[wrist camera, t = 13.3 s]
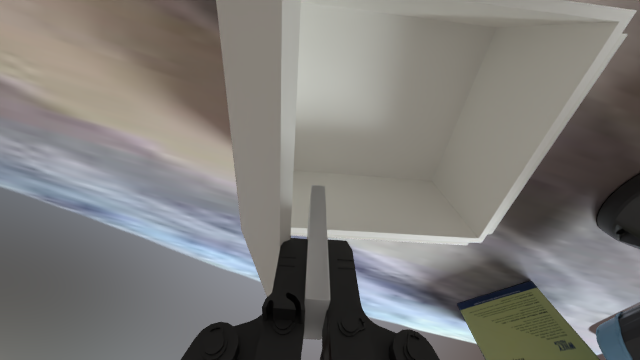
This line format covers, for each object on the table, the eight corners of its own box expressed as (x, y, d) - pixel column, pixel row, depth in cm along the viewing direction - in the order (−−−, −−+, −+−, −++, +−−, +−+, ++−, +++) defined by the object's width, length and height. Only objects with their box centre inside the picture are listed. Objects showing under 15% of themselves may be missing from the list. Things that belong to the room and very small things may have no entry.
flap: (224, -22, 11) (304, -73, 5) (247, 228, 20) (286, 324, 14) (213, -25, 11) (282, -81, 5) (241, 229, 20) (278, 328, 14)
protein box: (455, 303, 51) (503, 396, 38) (531, 279, 47) (616, 374, 34) (466, 323, 56) (513, 412, 43) (537, 303, 52) (613, 394, 39)
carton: (503, 22, 24) (647, 11, 13) (433, 184, 34) (484, 247, 24) (267, -8, 22) (226, -47, 12) (270, 172, 32) (250, 234, 22)
